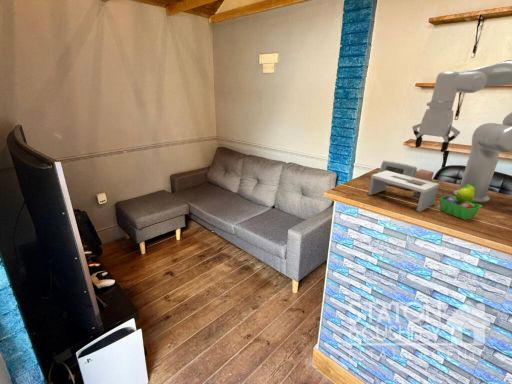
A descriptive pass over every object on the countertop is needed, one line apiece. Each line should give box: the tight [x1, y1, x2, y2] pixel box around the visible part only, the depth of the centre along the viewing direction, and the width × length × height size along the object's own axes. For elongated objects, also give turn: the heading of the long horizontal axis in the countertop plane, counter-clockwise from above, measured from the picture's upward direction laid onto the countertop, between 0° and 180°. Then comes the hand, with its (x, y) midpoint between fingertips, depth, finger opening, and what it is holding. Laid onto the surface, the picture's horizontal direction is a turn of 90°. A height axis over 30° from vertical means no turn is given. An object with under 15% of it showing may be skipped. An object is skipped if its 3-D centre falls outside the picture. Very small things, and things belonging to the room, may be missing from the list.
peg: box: [412, 168, 435, 199], centre depth 118 cm, size 5×5×11 cm
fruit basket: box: [439, 184, 483, 220], centre depth 101 cm, size 11×9×11 cm
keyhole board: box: [368, 170, 440, 213], centre depth 114 cm, size 12×22×9 cm, turn 36°
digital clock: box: [378, 160, 418, 190], centre depth 131 cm, size 16×9×11 cm, turn 32°
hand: (429, 149), depth 112 cm, fingers open, 9 cm apart
